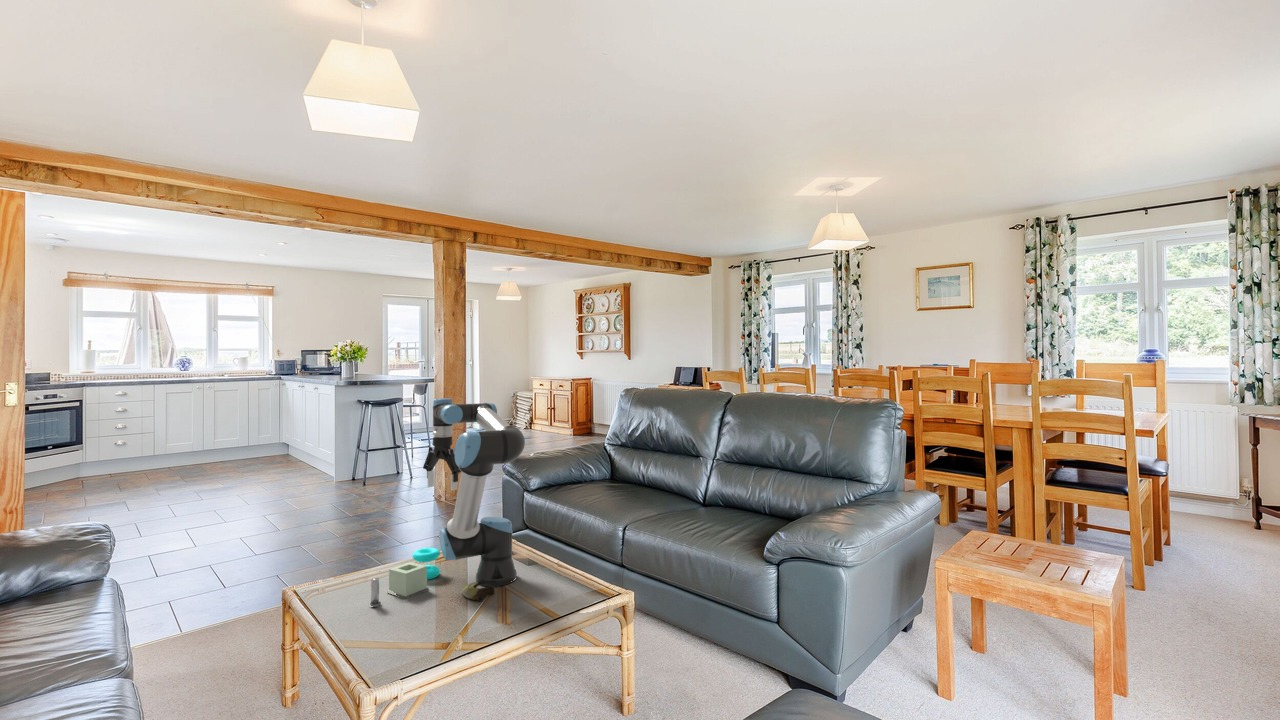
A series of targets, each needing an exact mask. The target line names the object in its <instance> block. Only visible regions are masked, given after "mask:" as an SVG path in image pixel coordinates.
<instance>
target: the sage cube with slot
mask: <svg viewBox="0 0 1280 720" xmlns="http://www.w3.org/2000/svg"><path fill="white" fill-rule="evenodd" d="M388 573H389V574H388V591H389V590H391V591H393V592H394V593H396V594H399V595H402V596H408V595H411V594H413V593H416V592H418V591H421V590H424V589H426V588H428V586H427V583H428V581H427V566H424V564H420V563H416V562H412V561H410V562H406V563H404V564H401V565H397V566H394V567H391V568H388Z"/></svg>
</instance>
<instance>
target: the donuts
mask: <svg viewBox="0 0 1280 720" xmlns="http://www.w3.org/2000/svg"><path fill="white" fill-rule="evenodd" d="M440 556H441V551H440V549H438V548H435V547H424V548H423V547H422V548H420V549H417V550H415V551H414V552H413V554H412V559H413V560H414V561H416V562H419V563H429V562H433V561H436V560H437V559H438V558H439V557H440ZM423 565H424V564H423ZM424 566H427V580H432V579H435V578H437V577H438V576H439V575H440V573H441V570H440V568H439V566H437V565H433V564H425V565H424Z"/></svg>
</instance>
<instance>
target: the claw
mask: <svg viewBox="0 0 1280 720" xmlns="http://www.w3.org/2000/svg"><path fill="white" fill-rule="evenodd" d="M477 585H479V584H478V583H477V582H476V581H474V582H471V583H469V584H468V585H466V586H465V587H463V589H462V591H461V594H462V596H464V597H465V598H466V599H469V600H473V601H478V602H482V601H483V599H484V598H486V597H489V596H493V595H494V594H495V586H484V587H480V588H479V587H477V588H476V586H477Z"/></svg>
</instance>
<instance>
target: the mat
mask: <svg viewBox="0 0 1280 720" xmlns="http://www.w3.org/2000/svg"><path fill="white" fill-rule="evenodd" d="M429 590H430V589H429V587H427V588H426V589H424V590H421V591H418V592H416V593H413V594H411V595H408V596H402V595H399V594H396V595H397V596H399V597H398V598H401V599H403V600H406V599H409V598H411V597H414V596H417V595H419V594H421V593H424V592H426V591H429ZM397 596H396V597H397Z"/></svg>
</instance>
